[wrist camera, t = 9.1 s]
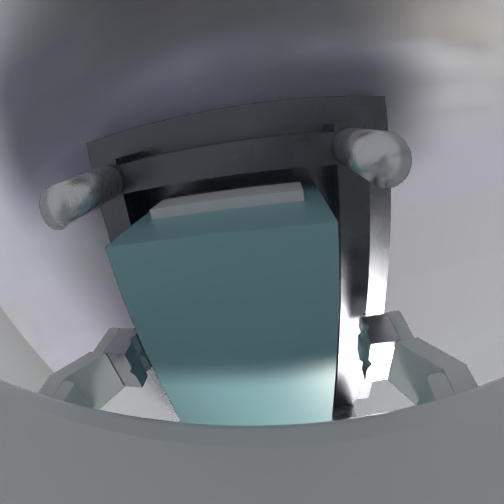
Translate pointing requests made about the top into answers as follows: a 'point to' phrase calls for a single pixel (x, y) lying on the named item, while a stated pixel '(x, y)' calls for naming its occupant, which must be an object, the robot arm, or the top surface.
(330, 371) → the block
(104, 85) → the top surface
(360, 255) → the tray
